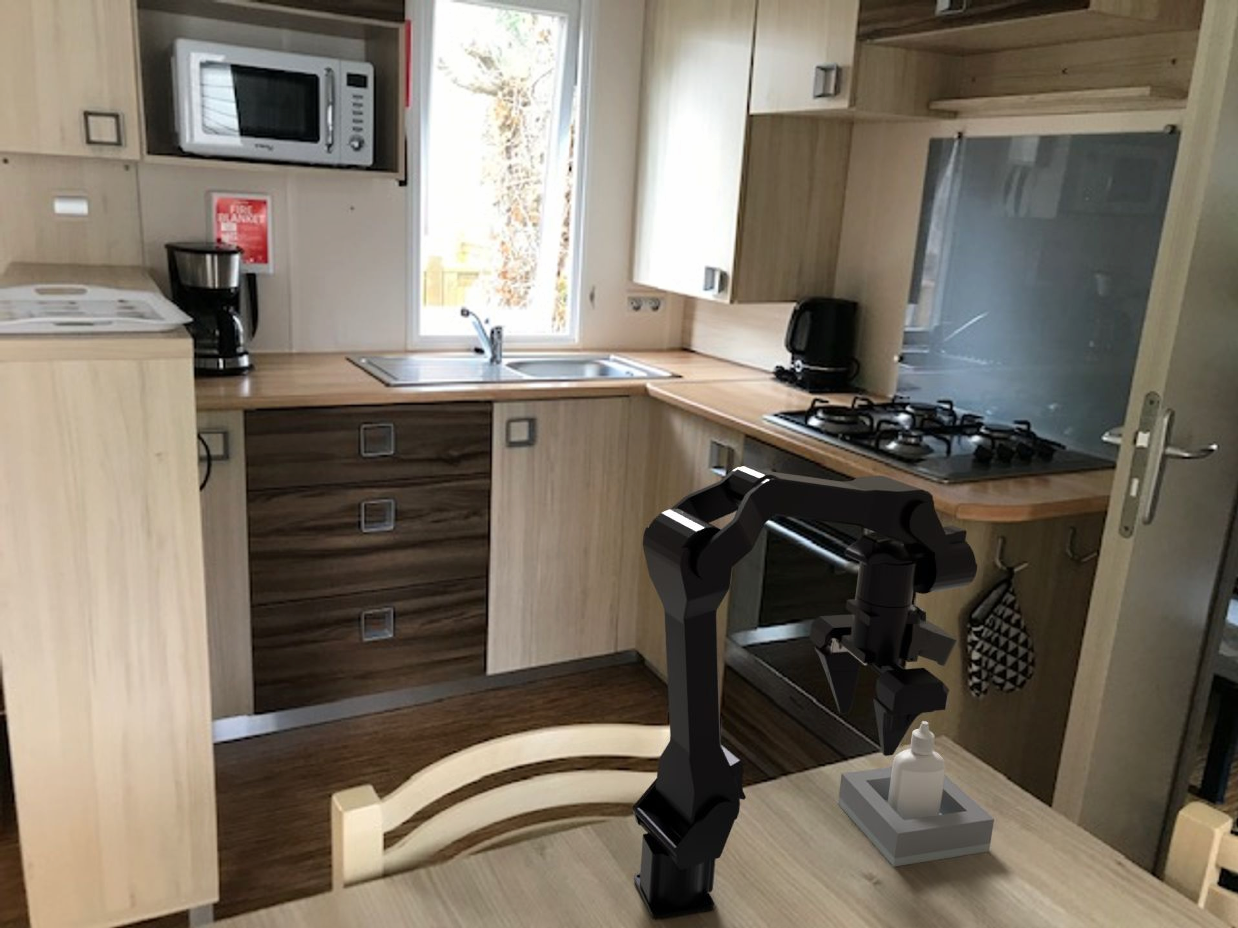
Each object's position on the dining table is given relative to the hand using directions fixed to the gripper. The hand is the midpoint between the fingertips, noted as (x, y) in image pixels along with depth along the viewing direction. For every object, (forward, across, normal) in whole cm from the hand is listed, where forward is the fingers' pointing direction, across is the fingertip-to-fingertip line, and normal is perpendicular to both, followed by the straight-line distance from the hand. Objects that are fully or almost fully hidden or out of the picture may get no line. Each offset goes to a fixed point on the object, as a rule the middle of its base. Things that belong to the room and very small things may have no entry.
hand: (865, 733), depth 110 cm
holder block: (+12, 0, -8) cm, 15 cm away
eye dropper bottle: (+12, 0, -8) cm, 14 cm away
